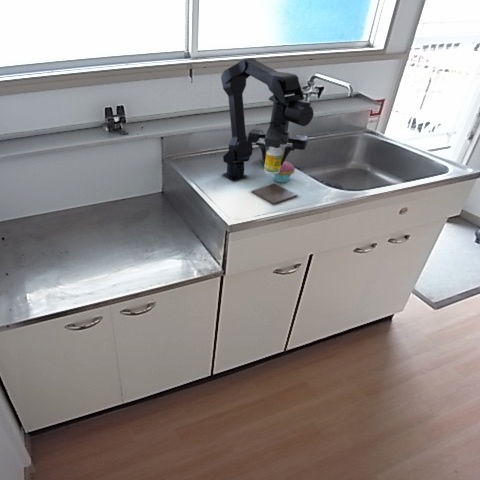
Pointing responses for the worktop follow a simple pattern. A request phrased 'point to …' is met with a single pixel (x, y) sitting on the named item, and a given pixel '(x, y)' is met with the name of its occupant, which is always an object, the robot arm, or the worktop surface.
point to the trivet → (274, 193)
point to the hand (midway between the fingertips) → (273, 163)
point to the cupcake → (284, 172)
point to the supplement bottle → (273, 160)
